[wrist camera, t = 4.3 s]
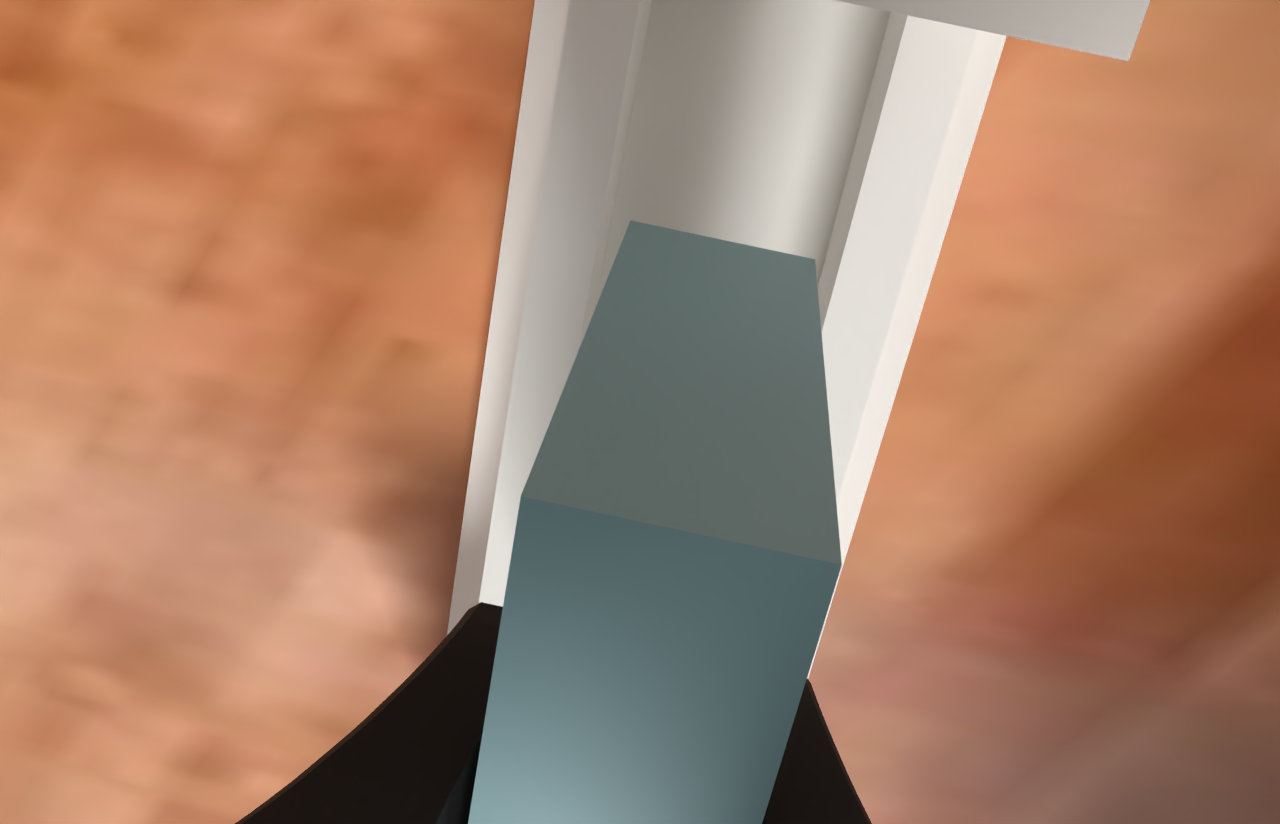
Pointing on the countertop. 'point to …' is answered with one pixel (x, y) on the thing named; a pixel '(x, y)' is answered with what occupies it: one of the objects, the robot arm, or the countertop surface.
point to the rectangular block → (668, 549)
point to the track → (739, 192)
